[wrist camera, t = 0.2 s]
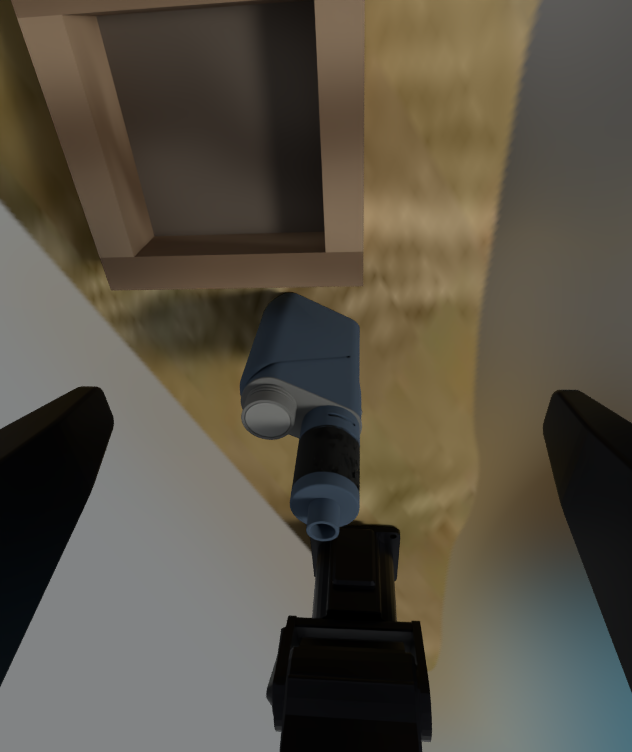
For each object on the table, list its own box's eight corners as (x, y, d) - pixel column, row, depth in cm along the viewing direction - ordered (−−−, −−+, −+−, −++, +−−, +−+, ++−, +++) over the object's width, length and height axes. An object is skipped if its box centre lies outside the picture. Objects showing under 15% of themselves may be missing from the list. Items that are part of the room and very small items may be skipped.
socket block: (362, 257, 22) (363, 286, 20) (137, 262, 23) (111, 290, 21) (364, -62, 15) (365, -78, 13) (48, -35, 16) (-5, -45, 14)
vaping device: (347, 361, 25) (338, 563, 16) (257, 321, 24) (191, 511, 15) (370, 325, 24) (377, 523, 14) (277, 280, 23) (217, 463, 13)
